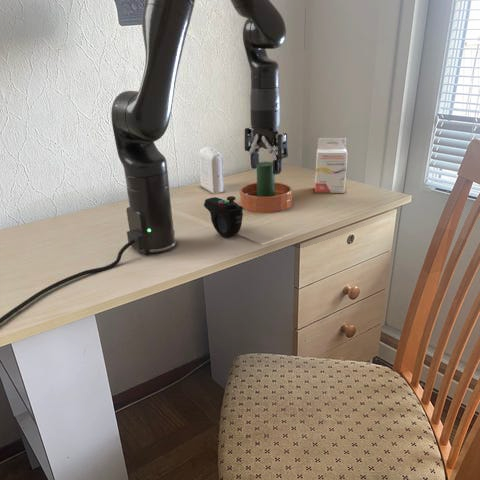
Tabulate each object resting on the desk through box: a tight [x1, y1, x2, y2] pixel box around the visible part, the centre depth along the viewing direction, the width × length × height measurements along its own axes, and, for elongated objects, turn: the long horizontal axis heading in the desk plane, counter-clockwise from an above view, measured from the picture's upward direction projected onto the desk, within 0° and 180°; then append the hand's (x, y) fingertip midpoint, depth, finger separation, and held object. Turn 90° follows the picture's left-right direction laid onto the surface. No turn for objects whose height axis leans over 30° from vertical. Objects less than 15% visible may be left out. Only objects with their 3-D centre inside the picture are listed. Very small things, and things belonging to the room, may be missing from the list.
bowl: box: [239, 181, 293, 214], centre depth 142 cm, size 14×14×4 cm
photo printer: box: [198, 146, 225, 194], centre depth 155 cm, size 10×4×12 cm, turn 28°
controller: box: [203, 195, 245, 238], centre depth 123 cm, size 4×12×10 cm, turn 37°
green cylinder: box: [256, 161, 276, 197], centre depth 140 cm, size 5×5×11 cm
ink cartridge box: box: [314, 137, 348, 194], centre depth 149 cm, size 9×5×15 cm, turn 84°
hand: (265, 171), depth 138 cm, fingers open, 8 cm apart
